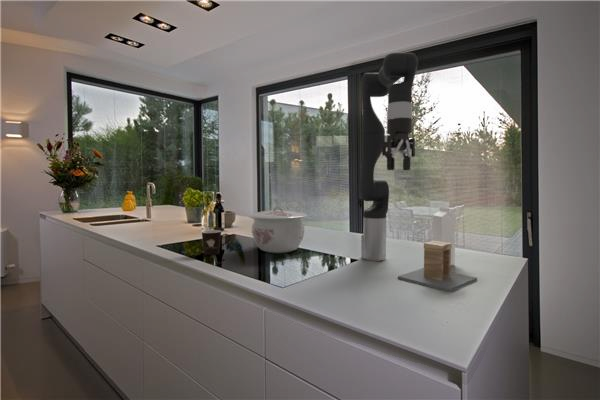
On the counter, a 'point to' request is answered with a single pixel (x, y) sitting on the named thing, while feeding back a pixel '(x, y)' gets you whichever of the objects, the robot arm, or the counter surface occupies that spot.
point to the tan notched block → (437, 260)
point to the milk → (444, 229)
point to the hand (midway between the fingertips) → (398, 170)
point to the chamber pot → (278, 230)
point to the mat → (446, 284)
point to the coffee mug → (212, 241)
